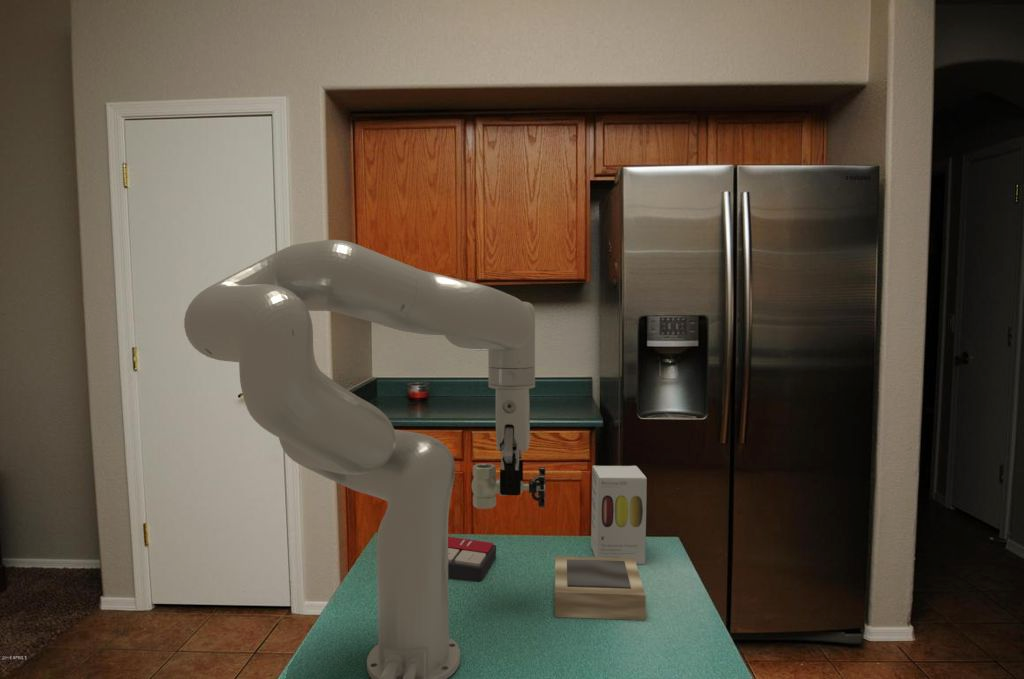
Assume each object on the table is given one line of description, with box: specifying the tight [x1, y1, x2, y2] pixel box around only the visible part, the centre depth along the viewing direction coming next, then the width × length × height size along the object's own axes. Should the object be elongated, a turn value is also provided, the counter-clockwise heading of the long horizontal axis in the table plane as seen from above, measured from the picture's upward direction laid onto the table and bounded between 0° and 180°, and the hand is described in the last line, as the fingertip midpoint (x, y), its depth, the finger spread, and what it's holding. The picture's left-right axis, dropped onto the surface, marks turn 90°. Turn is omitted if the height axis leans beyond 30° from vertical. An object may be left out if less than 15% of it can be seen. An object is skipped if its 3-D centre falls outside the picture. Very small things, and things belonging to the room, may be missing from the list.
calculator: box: [448, 536, 497, 583], centre depth 115 cm, size 11×4×15 cm
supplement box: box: [590, 465, 648, 565], centre depth 120 cm, size 10×9×17 cm
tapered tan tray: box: [554, 555, 646, 621], centre depth 102 cm, size 14×14×4 cm
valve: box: [471, 462, 547, 510], centre depth 100 cm, size 7×7×12 cm
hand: (511, 487), depth 100 cm, fingers closed on valve, 5 cm apart
